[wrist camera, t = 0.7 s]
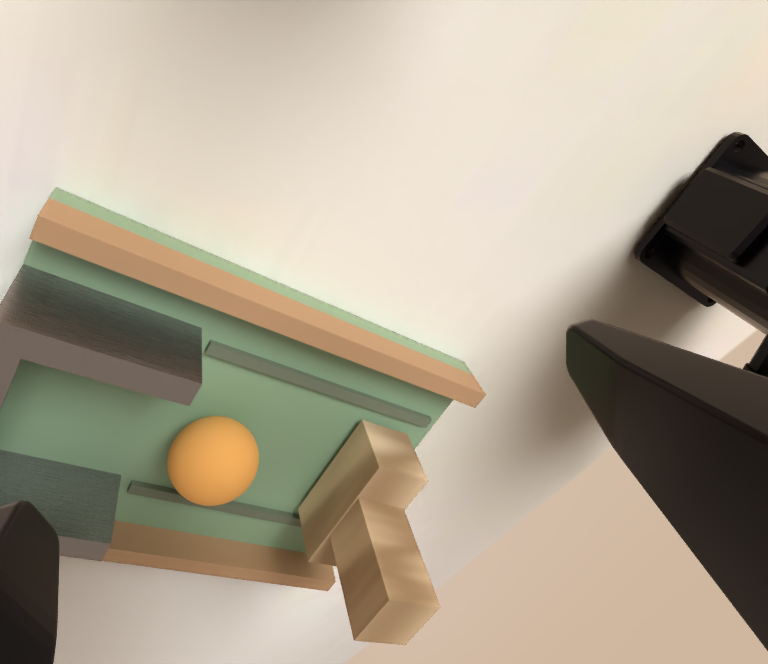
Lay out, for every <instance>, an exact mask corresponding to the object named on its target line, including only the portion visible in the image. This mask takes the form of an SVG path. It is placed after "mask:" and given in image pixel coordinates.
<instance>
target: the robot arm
mask: <svg viewBox="0 0 768 664" xmlns="http://www.w3.org/2000/svg"><path fill="white" fill-rule="evenodd" d="M736 143H737V145H736ZM735 145H736V147H735ZM734 147H735V148H734ZM648 249H649V250H648ZM647 250H648V252H647V253H646V251H647ZM645 253H646V254H645ZM634 255H635V257H636V259H638V260H639V261H641V262H642V263H643V264H645V265H646V266H648V267H649V268H651V269H652V270H654V271H655V272H656V273H658V274H659V275H661V276H662V277H664V278H665V279H667V280H668V281H669V282H671V283H672V284H674V285H675V286H677V287H678V288H680V289H681V290H682V291H684V292H685V293H687V294H688V295H690V296H691V297H693V298H694V299H695V300H697V301H698V302H700V303H701V304H703V305H704V306H706V307H709V306H712V305H714V304H715V303H716V302H717V303H719V304H720V305H722V306H723V307H725V308H726V309H728V310H729V311H731V312H732V313H734V314H735V315H737V316H738V317H740V318H741V319H743V320H744V321H746V322H748V323H749V324H751V325H752V326H754V327H755V328H757V329H758V330H760V331H761V332H763V333H764V334H766V336H765V338H764V339H763V341H762V343H761V345H760V346H759V348H758V349H757V351H756V353H755V354H754V356H753V357H752V359H751V361H750V362H749V363H747V364H745V366H744V367H743V369H740V368H737V367H734V366H731V365H728V364H725V363H722V362H719V361H717V360H714V359H711V358H708V357H705V356H702V355H699V354H696V353H693V352H690V351H687V350H684V349H681V348H678V347H675V346H672V345H669V344H666V343H663V342H660V341H657V340H654V339H651V338H648V337H645V336H642V335H639V334H636V333H633V332H630V331H627V330H624V329H621V328H618V327H615V326H612V325H609V324H606V323H603V322H600V321H597V320H593V319H588V320H584V321H581V322H578V323H575V324H572V325H570V326H569V327H568V328H567V332H566V365H567V369H568V372H569V375H570V377H571V378H572V380H573V382H574V383H575V385H576V387H577V388H578V390H579V392H580V393H581V395H582V397H583V398H584V400H585V402H586V404H587V405H588V407H589V409H590V410H591V412H592V414H593V415H594V417H595V419H596V420H597V422H598V424H599V425H600V427H601V429H602V430H603V432H604V434H605V435H606V437H607V439H608V440H609V442H610V443H611V445H612V447H613V448H614V449H615V451H616V452H617V453H618V455H619V456H620V458H621V459H622V460H623V462H624V463H625V464H626V466H627V467H628V468H629V469H630V471H631V472H632V473H633V475H634V476H635V477H636V479H637V480H638V481H639V483H640V484H641V485H642V486H643V488H644V489H645V490H646V492H647V493H648V494H649V496H650V497H651V498H652V500H653V501H654V502H655V504H656V505H657V506H658V508H659V509H660V510H661V511H662V513H663V514H664V515H665V517H666V518H667V519H668V521H669V522H670V523H671V525H672V526H673V527H674V528H675V530H676V531H677V532H678V534H679V535H680V536H681V538H682V539H683V540H684V542H685V543H686V544H687V545H688V547H689V548H690V549H691V551H692V552H693V553H694V555H695V556H696V557H697V559H698V560H699V561H700V563H701V564H702V565H703V566H704V568H705V569H706V570H707V572H708V573H709V574H710V576H711V577H712V578H713V580H714V581H715V582H716V584H717V585H718V586H719V588H720V589H721V590H722V592H723V593H724V594H725V596H726V597H727V598H728V599H729V601H730V602H731V603H732V605H733V606H734V607H735V609H736V610H737V611H738V613H739V614H740V615H741V617H742V618H743V619H744V620H745V622H746V623H747V624H748V626H749V627H750V628H751V630H752V631H753V632H754V634H755V635H756V636H757V637H758V639H759V640H760V641H761V643H762V644H763V645H764V647H765V648H766V649H767V651H768V156H767V155H766V154H765V153H764V152H763V151H762V150H761V149H760V147H759V146H758V145H757V144H756V143H755V142H754V141H753V140H752V139H751V138H750V137H749V136H748V135H746V134H743V133H740V132H734V133H732V134H730V135H729V136H728V137H727V138H726V139H725V140H724V142H723V143H722V144H721V145H720V146H719V148H718V149H717V150H716V151H715V152H714V154H713V155H712V156H711V157H710V159H709V160H708V161H707V162H706V163H705V165H704V166H703V167H702V168H701V169H700V171H699V172H698V173H697V174H696V175H695V177H694V178H693V179H692V180H691V181H690V183H689V184H688V185H687V186H686V188H685V189H684V190H683V191H682V192H681V194H680V195H679V196H678V197H677V198H676V200H675V201H674V202H673V203H672V204H671V206H670V207H669V208H668V209H667V211H666V212H665V213H664V214H663V215H662V217H661V218H660V219H659V220H658V221H657V223H656V224H655V225H654V226H653V227H652V229H651V230H650V231H649V232H648V233H647V235H646V236H645V237H644V238H643V240H642V241H641V242H640V243H639V244H638V246H637V247H636V249H635V252H634ZM59 548H60V545H59V538H58V535H57V533H56V531H55V529H54V528H53V527H52V525H51V524H50V523H49V522H48V521H47V520H46V519H45V518H44V516H43V515H42V514H41V513H40V512H39V511H38V510H37V508H36V507H35V506H34V505H33V504H32V503H31V502H29V501H26V500H20V501H17V502H14V503H11V504H7V505H4V506H1V507H0V664H53V662H54V655H55V646H56V637H57V619H58V584H59Z"/></svg>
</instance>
